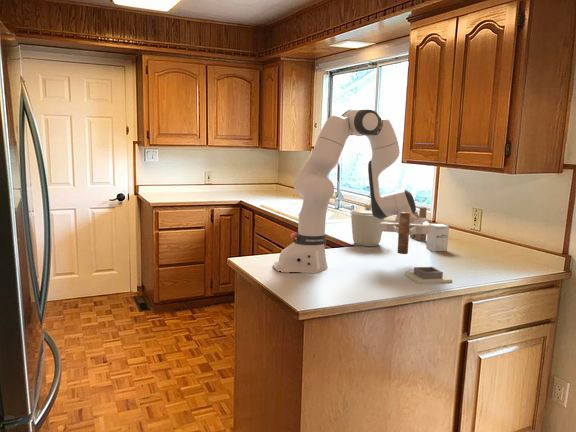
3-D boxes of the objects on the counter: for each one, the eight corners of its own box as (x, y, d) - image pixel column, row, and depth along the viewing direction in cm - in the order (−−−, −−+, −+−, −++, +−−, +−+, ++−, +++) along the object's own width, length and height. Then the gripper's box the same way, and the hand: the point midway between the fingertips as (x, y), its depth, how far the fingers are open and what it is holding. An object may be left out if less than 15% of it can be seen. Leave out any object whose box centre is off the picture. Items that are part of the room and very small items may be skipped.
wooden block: (415, 237, 270) (417, 205, 267) (426, 241, 260) (428, 207, 257) (409, 237, 269) (411, 205, 266) (420, 241, 259) (422, 208, 256)
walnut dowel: (400, 254, 190) (402, 213, 187) (395, 251, 194) (397, 212, 191) (409, 253, 190) (411, 213, 188) (405, 251, 194) (407, 211, 192)
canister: (362, 239, 261) (364, 200, 258) (391, 245, 248) (393, 204, 245) (341, 243, 248) (343, 203, 245) (370, 250, 236) (372, 207, 232)
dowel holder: (417, 283, 183) (418, 274, 182) (404, 274, 194) (404, 266, 194) (452, 282, 185) (452, 273, 185) (436, 273, 197) (437, 265, 196)
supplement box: (434, 252, 235) (436, 226, 233) (425, 248, 242) (427, 223, 240) (447, 251, 237) (449, 225, 235) (438, 247, 244) (440, 223, 242)
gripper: (380, 215, 205) (377, 221, 192) (430, 218, 200) (431, 224, 187) (379, 230, 206) (376, 236, 193) (429, 233, 201) (430, 240, 188)
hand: (403, 230), depth 190 cm, fingers closed on walnut dowel, 4 cm apart
